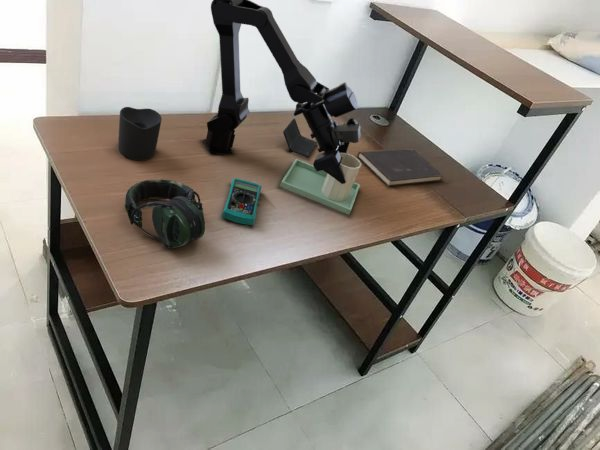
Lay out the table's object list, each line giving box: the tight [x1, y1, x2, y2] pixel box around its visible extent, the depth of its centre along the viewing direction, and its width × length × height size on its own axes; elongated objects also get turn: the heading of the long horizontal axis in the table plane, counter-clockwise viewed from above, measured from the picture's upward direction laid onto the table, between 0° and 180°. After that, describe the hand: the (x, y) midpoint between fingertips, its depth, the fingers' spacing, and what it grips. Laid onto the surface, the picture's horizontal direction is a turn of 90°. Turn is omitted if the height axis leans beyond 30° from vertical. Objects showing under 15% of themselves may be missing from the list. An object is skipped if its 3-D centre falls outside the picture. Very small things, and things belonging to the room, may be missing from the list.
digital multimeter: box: [221, 177, 262, 226], centre depth 121 cm, size 7×15×3 cm, turn 177°
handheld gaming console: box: [282, 118, 318, 159], centre depth 152 cm, size 12×7×10 cm
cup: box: [321, 152, 362, 202], centre depth 135 cm, size 7×7×10 cm
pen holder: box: [117, 106, 163, 161], centre depth 124 cm, size 9×9×10 cm
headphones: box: [124, 178, 206, 249], centre depth 107 cm, size 13×13×20 cm
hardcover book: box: [357, 148, 444, 188], centre depth 161 cm, size 16×23×2 cm
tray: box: [279, 158, 361, 216], centre depth 138 cm, size 19×14×2 cm
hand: (346, 176), depth 134 cm, fingers closed on cup, 7 cm apart
